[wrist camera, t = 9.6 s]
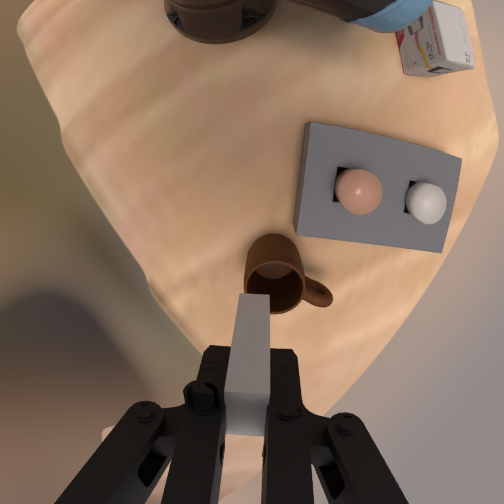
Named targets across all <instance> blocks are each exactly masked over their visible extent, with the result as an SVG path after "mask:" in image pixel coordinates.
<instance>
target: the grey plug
mask: <svg viewBox="0 0 504 504" xmlns="http://www.w3.org/2000/svg"><path fill="white" fill-rule="evenodd" d="M405 204H406V206H407V209H408V211H409V213H410V214H411V215H412V216H413V217H415V218H416V219H418V220H419V221H421V222H422V223H425V224H433V223H436V222H437V221H439V220H440V219H441V218H442V216H443V215H444V213H445V210H446V196H445V194H444V192H443V191H442V189H441V188H439V187H438V186H436V185H433V184H430V183H428V182H424V181H421V182H417V183H415V184H414V185H413V184H411V183H409V187H408V192H407V196H406V203H405Z"/></svg>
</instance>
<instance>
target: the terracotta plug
mask: <svg viewBox="0 0 504 504" xmlns="http://www.w3.org/2000/svg"><path fill="white" fill-rule="evenodd" d="M335 193H336V197H337V199H338V201H339V202H340V203H341V204H342V205H343V206H344V207H345V208H346V209H347V210H348V211H350V212H351V213H353V214H357V215H365V214H368V213H370V212H372V211H373V210H375V209H376V208H377V206H378V205H379V203H380V201H381V198H382V186H381V183H380V181H379V179H378V178H377V177H376V176H375V175H374V174H372V173H371V172H368V171H366V170H363V169H360V168H350V169H347V170H345V171H342V172H340V173H338V174H337V175H336V180H335Z"/></svg>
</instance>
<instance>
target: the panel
mask: <svg viewBox="0 0 504 504" xmlns="http://www.w3.org/2000/svg"><path fill="white" fill-rule="evenodd" d="M461 163H462V159H461V158H459V157H456V156H453V155H450V154H446V153H443V152H440V151H437V150H434V149H430V148H427V147H424V146H420V145H417V144H413V143H409V142H406V141H402V140H398V139H394V138H390V137H386V136H382V135H377V134H373V133H368V132H364V131H359V130H354V129H349V128H344V127H338V126H333V125H327V124H321V123H314V122H309V123H306V124H305V132H304V141H303V149H302V158H301V166H300V174H299V182H298V190H297V198H296V205H295V213H294V220H293V226H294V229H295V232H296V235H298V236H307V237H316V238H325V239H333V240H342V241H350V242H359V243H367V244H375V245H383V246H391V247H399V248H406V249H414V250H421V251H429V252H436V253H442V250H443V246H444V242H445V239H446V235H447V231H448V227H449V223H450V219H451V215H452V211H453V206H454V201H455V197H456V192H457V186H458V181H459V175H460V169H461ZM337 166H339V167H345V168H360V169H363V170H366V171H368V172H371V173H372V174H374V175H375V176H376V177H377V178H378V179H379V181H380V183H381V186H382V198H381V201H380V203H379V205H378V206H377V208H376V209H375V210H373V211H372V212H370V213H368V214H365V215H357V214H353V213H351V212H350V211H348V210H347V209H346V208H345V207H344V206H343V205H342V204H341V203H340V202H339V201H338V199H337V197H336V195H333V193H334V187H335V180H336V173H337ZM410 180H411V181H415V182H421V181H424V182H428V183H430V184H433V185H436V186H438V187H439V188H441V189H442V191H443V192H444V194H445V196H446V210H445V213H444V215H443V216H442V218H441V219H440V220H439V221H437V222H436V223H433V224H425V223H422V222H421V221H419V220H418V219H416V218H415V217H413V216H412V215H411V214H410V213H409V211H408V209H407V207H405V203H406V196H407V192H408V187H409V181H410Z"/></svg>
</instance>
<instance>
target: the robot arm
mask: <svg viewBox="0 0 504 504" xmlns="http://www.w3.org/2000/svg"><path fill="white" fill-rule="evenodd" d="M279 1H283V2H287V3H291V4H295V5H299V6H302V7H306V8H309V9H313V10H316V11H319V12H322V13H325V14H328V15H331V16H334V17H337V18H339V19H340V20H341V21H343V22H345V23H348V24H356V25H359V26H362V27H365V28H367V29H370V30H372V31H375V32H379V33H393V32H397V31H399V30H402V29H404V28H406V27H407V26H409V25H411V24H412V23H413V22H415V21H416V20H417V19H418V18H419V17H420V16H421V15H422V14H423V13H424V12H425V11H426V10H427V9H428V8H429V6H430V5H431V4H432V2H433V1H434V0H279ZM275 4H276V0H164V6H165V12H166V15H167V17H168V19H169V21H170V22H171V23H172V25H173V26H174V27H175V28H176V29H177V30H178V31H179V32H180V33H181V34H183V35H184V36H186V37H188V38H190V39H192V40H195V41H198V42H202V43H209V44H221V43H229V42H233V41H237V40H240V39H243V38H245V37H247V36H249V35H251V34H253V33H255V32H256V31H258V30H259V29H260V28H261V27H262V26H264V25H265V24H266V22H267V21H268V20H269V19H270V17H271V15H272V14H273V11H274V9H275ZM183 393H184V399H185V404H183V405H180V406H177V407H171V408H161V407H160V406H159V405H158V404H156V403H155V402H151V401H140V402H137V403H135V404H134V405H132V406H131V407H130V408H129V409H128V410H127V412H126V413H125V414H124V416H123V417H122V418H121V419H120V421H119V422H118V423H117V424H116V426H115V427H114V428H113V430H112V431H111V432H110V433H109V435H108V436H107V437H106V438H105V440H104V441H103V442H102V443H101V445H100V446H99V447H98V449H97V450H96V451H95V453H94V454H93V455H92V456H91V458H90V459H89V460H88V461H87V463H86V464H85V465H84V466H83V468H82V469H81V470H80V471H79V473H78V474H77V475H76V476H75V478H74V479H73V480H72V482H71V483H70V484H69V485H68V487H67V488H66V489H65V490H64V492H63V493H62V494H61V496H60V497H59V498H58V500H57V501H56V502H55V503H54V504H145V502H146V501H147V499H148V497H149V496H150V494H151V493H152V491H153V489H154V488H155V486H156V484H157V483H158V481H159V479H160V478H161V476H162V474H163V473H164V471H165V469H166V468H167V466H168V464H169V463H170V461H171V464H170V468H169V472H168V476H167V480H166V484H165V488H164V493H163V497H162V501H161V504H218V499H219V491H220V483H221V475H222V467H223V459H224V451H225V434H233V435H248V436H264V446H263V453H262V457H263V468H262V497H261V504H314V495H313V482H312V469H311V464H313V465H314V468H315V470H316V473H317V475H318V478H319V480H320V483H321V485H322V488H323V490H324V493H325V495H326V498H327V500H328V503H329V504H409V503H408V501H407V500H406V498H405V496H404V494H403V492H402V491H401V489H400V487H399V485H398V484H397V482H396V480H395V478H394V477H393V475H392V473H391V471H390V469H389V468H388V466H387V464H386V462H385V460H384V459H383V457H382V455H381V454H380V452H379V450H378V448H377V446H376V445H375V443H374V441H373V439H372V438H371V436H370V434H369V432H368V431H367V429H366V427H365V425H364V423H363V422H362V421H361V419H360V418H359V417H357V416H356V415H354V414H350V413H346V412H345V413H338V414H336V415H333V416H332V417H331V418H327V417H323V416H319V415H316V414H313V413H311V412H310V411H308V410H307V409H306V408H305V406H304V405H303V402H302V396H301V386H300V376H299V367H298V358H297V356H296V354H295V353H294V352H293V350H292V349H276V348H270V295H262V294H244V293H240V295H239V301H238V308H237V314H236V320H235V326H234V332H233V339H232V345H231V347H228V346H216V345H210V346H209V347H208V348H207V349H206V350H205V351H204V353H203V357H202V361H201V364H200V369H199V372H198V376H197V380H195V381H192V382H190V383H189V384H187V385H186V386H185V388H184V390H183ZM171 459H172V460H171Z"/></svg>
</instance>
